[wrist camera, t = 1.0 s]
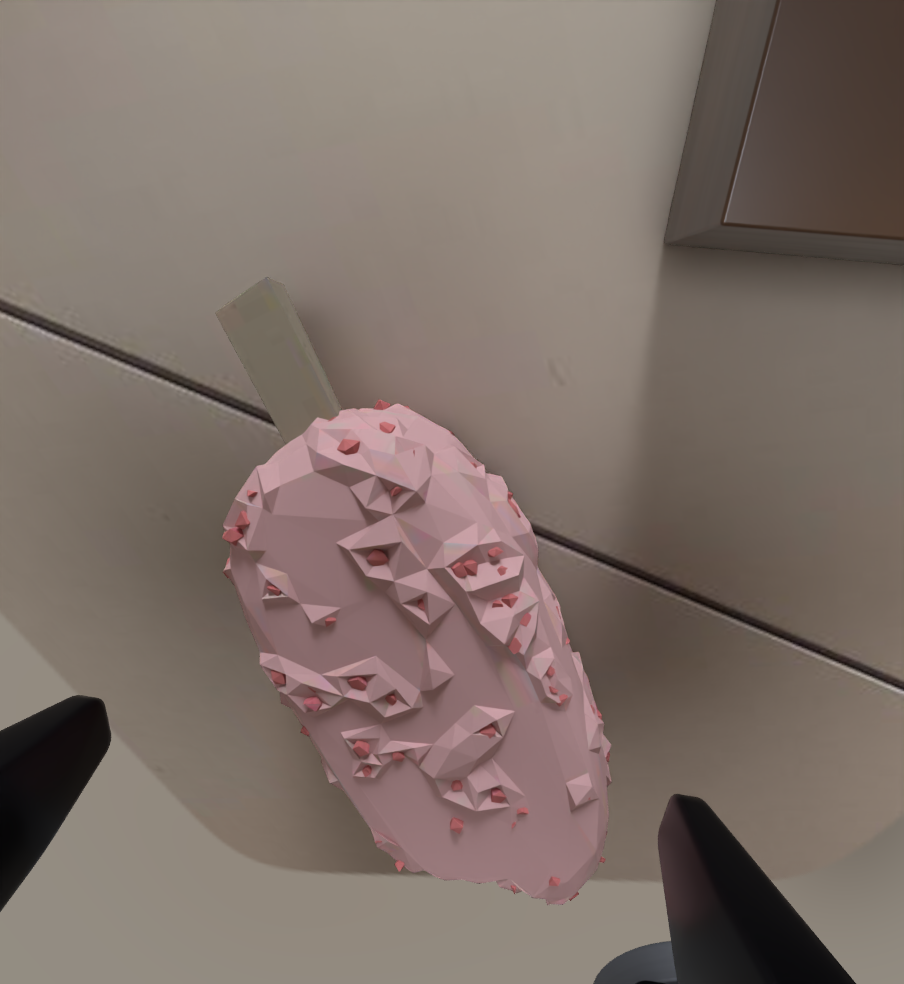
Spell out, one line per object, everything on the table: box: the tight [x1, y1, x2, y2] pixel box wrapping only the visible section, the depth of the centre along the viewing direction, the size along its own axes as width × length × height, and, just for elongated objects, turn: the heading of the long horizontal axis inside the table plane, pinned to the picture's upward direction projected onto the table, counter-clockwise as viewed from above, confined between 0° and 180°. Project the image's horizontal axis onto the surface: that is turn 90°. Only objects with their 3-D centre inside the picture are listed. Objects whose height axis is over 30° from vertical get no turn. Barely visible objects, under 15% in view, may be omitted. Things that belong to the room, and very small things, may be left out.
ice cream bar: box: [215, 277, 612, 905], centre depth 11 cm, size 6×4×15 cm
